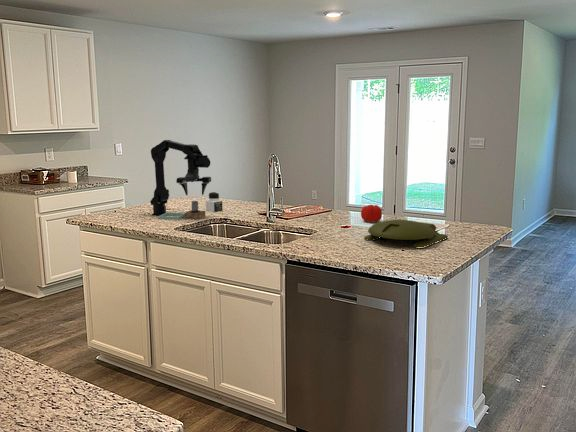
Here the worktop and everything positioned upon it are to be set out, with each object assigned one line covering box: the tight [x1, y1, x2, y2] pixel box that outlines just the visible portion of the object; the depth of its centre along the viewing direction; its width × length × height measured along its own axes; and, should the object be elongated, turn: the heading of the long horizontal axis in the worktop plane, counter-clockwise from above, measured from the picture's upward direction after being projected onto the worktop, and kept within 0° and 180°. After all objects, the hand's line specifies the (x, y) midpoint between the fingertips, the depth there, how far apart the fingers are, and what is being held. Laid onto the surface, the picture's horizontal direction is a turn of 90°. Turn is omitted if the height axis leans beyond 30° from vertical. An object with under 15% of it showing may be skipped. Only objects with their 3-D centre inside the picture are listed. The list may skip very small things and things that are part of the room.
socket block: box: [184, 209, 206, 220], centre depth 322 cm, size 9×9×4 cm
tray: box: [157, 212, 186, 221], centre depth 321 cm, size 12×12×2 cm
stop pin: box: [191, 200, 199, 213], centre depth 321 cm, size 4×4×9 cm
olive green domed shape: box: [364, 219, 449, 247], centre depth 268 cm, size 35×31×10 cm
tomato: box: [360, 204, 383, 223], centre depth 312 cm, size 11×12×9 cm
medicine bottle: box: [205, 191, 224, 213], centre depth 342 cm, size 7×7×12 cm
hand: (194, 195), depth 320 cm, fingers open, 9 cm apart
